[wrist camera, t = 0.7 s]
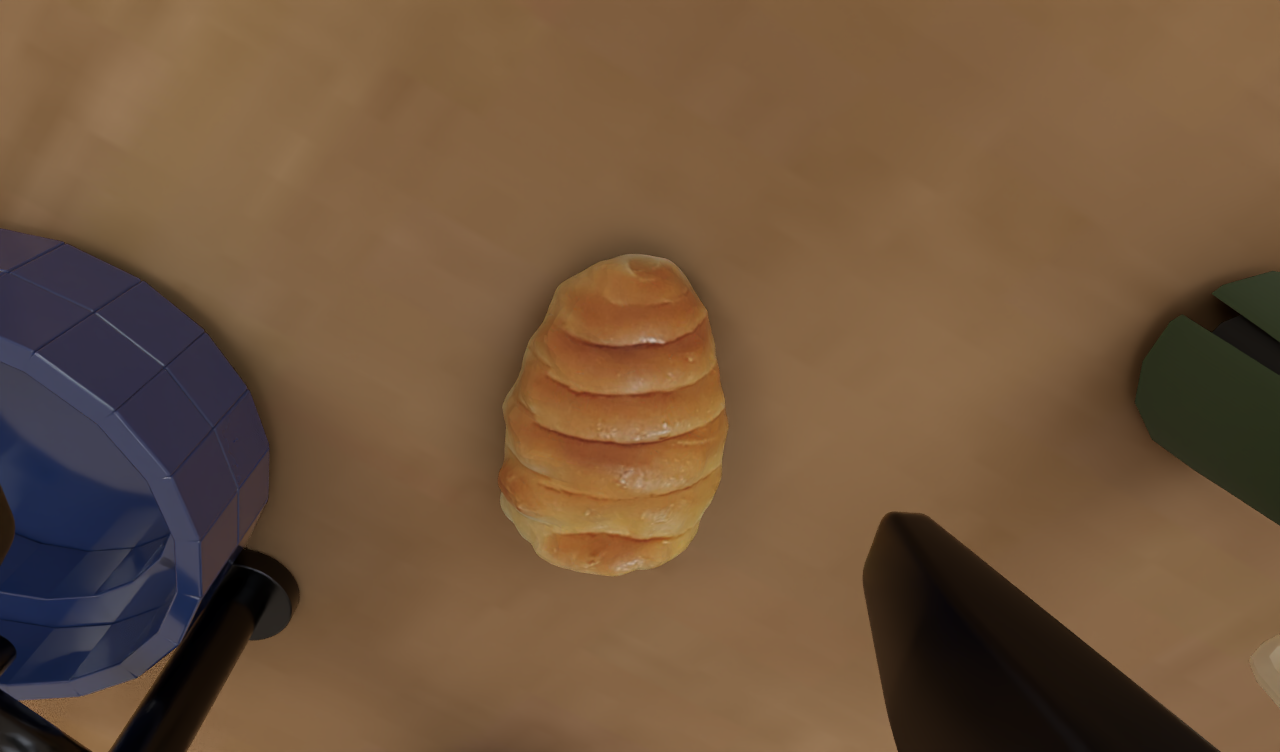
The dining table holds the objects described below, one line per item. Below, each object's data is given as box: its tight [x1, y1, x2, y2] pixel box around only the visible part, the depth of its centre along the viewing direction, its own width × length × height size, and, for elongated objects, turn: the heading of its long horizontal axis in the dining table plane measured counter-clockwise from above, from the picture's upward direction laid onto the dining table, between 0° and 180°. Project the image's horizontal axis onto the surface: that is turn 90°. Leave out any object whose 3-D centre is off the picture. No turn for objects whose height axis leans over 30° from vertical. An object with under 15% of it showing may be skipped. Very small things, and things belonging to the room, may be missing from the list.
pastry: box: [498, 254, 729, 576], centre depth 22 cm, size 9×7×4 cm
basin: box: [0, 228, 270, 701], centre depth 22 cm, size 13×13×5 cm
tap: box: [0, 549, 299, 752], centre depth 23 cm, size 7×4×9 cm, turn 31°
